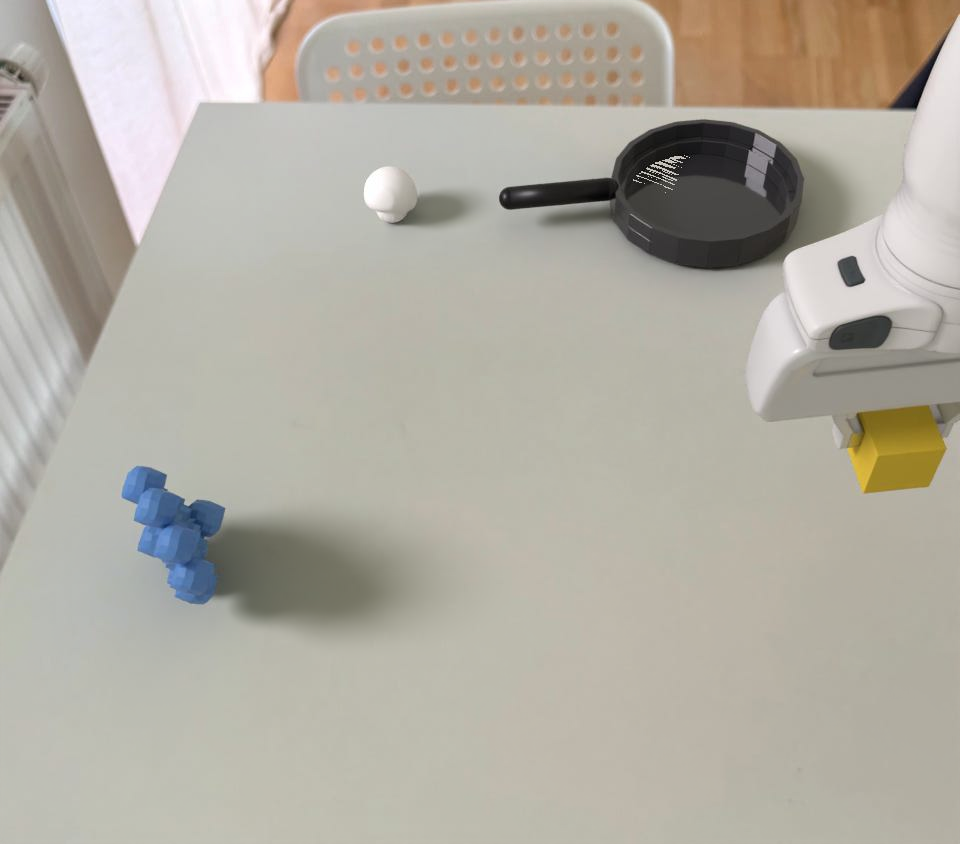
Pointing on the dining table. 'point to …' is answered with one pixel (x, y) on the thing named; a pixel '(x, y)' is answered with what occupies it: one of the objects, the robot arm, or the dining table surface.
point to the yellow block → (897, 449)
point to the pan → (707, 193)
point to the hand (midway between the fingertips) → (887, 436)
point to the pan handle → (558, 193)
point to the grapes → (175, 532)
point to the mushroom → (390, 193)
